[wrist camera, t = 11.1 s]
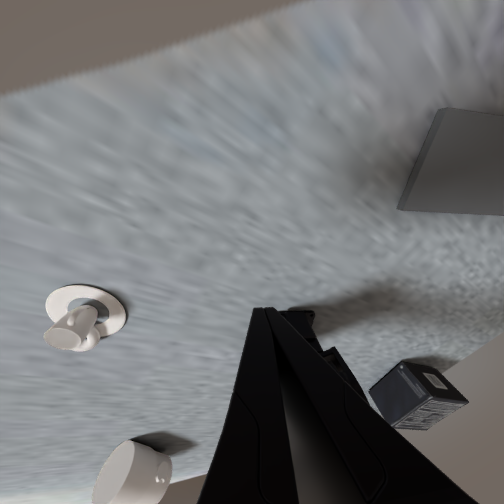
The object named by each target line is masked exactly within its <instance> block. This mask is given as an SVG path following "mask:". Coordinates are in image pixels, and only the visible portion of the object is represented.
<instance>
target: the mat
mask: <svg viewBox="0 0 504 504" xmlns="http://www.w3.org/2000/svg"><path fill="white" fill-rule="evenodd" d="M397 209H399V210H402V211H421V212H441V213H460V214H480V215H499V216H504V116H499V115H493V114H486V113H479V112H473V111H466V110H460V109H453V108H444V109H440V110H438V112H437V114H436V116H435V119H434V121H433V124H432V126H431V128H430V131H429V133H428V135H427V138H426V140H425V143H424V145H423V147H422V150H421V152H420V154H419V157H418V159H417V162H416V164H415V166H414V169H413V171H412V173H411V176H410V178H409V180H408V183H407V185H406V188H405V190H404V192H403V195H402V197H401V199H400V202H399V204H398V207H397Z"/></svg>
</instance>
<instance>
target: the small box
mask: <svg viewBox="0 0 504 504" xmlns="http://www.w3.org/2000/svg"><path fill="white" fill-rule="evenodd" d="M368 392H369V394H370V396H371V397H372V399H373V401H374V402H375V404H376V406H377V408H378V409H379V411H380V413H381V414H382V416H383V417H384V419H385V420H386V421H387V422H388V423H389V424H390V425H391V426H392V427H393V428H396V429H412V430H428V429H429V428H430V427H432V426H433V425H434V424H435V423H437V422H439V421H440V420H442V419H443V418H445V417H446V416H448V415H449V414H451V413H453V412H454V411H456V410H457V409H459V408H461V407H462V406H464V405H466V404H468V403H469V401H468V400H467V399H466V398H465V397H464V396H463V395H462V394H461V393H460V392H459V391H458V390H457V389H456V388H455V387H454V386H453V385H452V384H451V383H450V382H449V381H448V380H447V379H446V378H445V377H444V376H443V375H442V374H441V373H440V372H439V371H438V370H437V369H435V368H430V367H425V366H420V365H415V364H410V363H405V362H401V363H400V364H399V365H398V366H397V367H395V368H394V369H393V370H392V371H391V372H390V373H389V374H388V375H387V376H385V377H384V378H383V379H382V380H381V381H380V382H379V383H378V384H377V385H375V386H374V387H373V388H372V389H371V390H370V391H368Z"/></svg>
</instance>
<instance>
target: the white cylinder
mask: <svg viewBox="0 0 504 504" xmlns="http://www.w3.org/2000/svg"><path fill="white" fill-rule="evenodd" d="M171 475H172V461H171V459H170V457H169V456H168V455H166V454H163V453H160V452H157V451H154V450H153V449H152V448H151V447H149V446H146V445H143V444H140V443H137V442H134V441H131V440H127V441H124V442H123V443H121V444H120V445H119V446H118V447H117V448H116V449H115V450H114V451H113V452H112V453H111V455H110V456H109V457H108V459H107V460H106V462H105V463H104V465H103V467H102V469H101V471H100V473H99V475H98V477H97V480H96V482H95V485H94V489H93V493H92V504H158V503H159V501H160V500H161V498H162V497H163V495H164V494H165V492H166V490H167V488H168V485H169V483H170V479H171Z"/></svg>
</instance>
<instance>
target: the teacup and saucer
mask: <svg viewBox="0 0 504 504" xmlns="http://www.w3.org/2000/svg"><path fill="white" fill-rule="evenodd" d="M83 297H85V298H92V299H95V300H98V301H100V302H101V303H103V304H104V305H105V306H106V307H107V308H108V310H109V318H108V319H107V321H105V322H104V323H101V324H97V325H94V324H95V322H96V320H97V316H98V311H97V309H96V308H94V307H93V306H90V305H82V306H79V307H77V308H75V309H73V310H71V311H70V312H68V310H67V307H68V304H69V303H70V302H71V301H72V300H74V299H76V298H83ZM46 311H47V313H48V315H49V317H50V318H51V319H52V321H53V322H54V323H55V324H54V325H53V326H52V327H51V328H49V329H48V330H47V331H46V332H45V334H44V339H45V341H46V342H47V343H48V344H49V345H51V346H52V347H55V348H58V349H62V350H74V351H87V350H90V349H92V348H94V347H95V346H96V345H97V344H98V342H99V340H100V337H104V336H108V335H111V334H113V333H115V332H117V331H119V330H120V329H121V328H122V327H123V325H124V323H125V321H126V313H125V310H124V308H123V306H122V305H121V303H120V302H119V301H118V300H117V299H116V298H115V297H113V296H112V295H110V294H109V293H107V292H105V291H103V290H100V289H97V288H94V287H90V286H83V285H71V286H65V287H62V288H59V289H57V290H55V291H54V292H52V293H51V294H50V295H49V297H48V298H47V301H46ZM85 338H87V340H85V341H84V339H85Z"/></svg>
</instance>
